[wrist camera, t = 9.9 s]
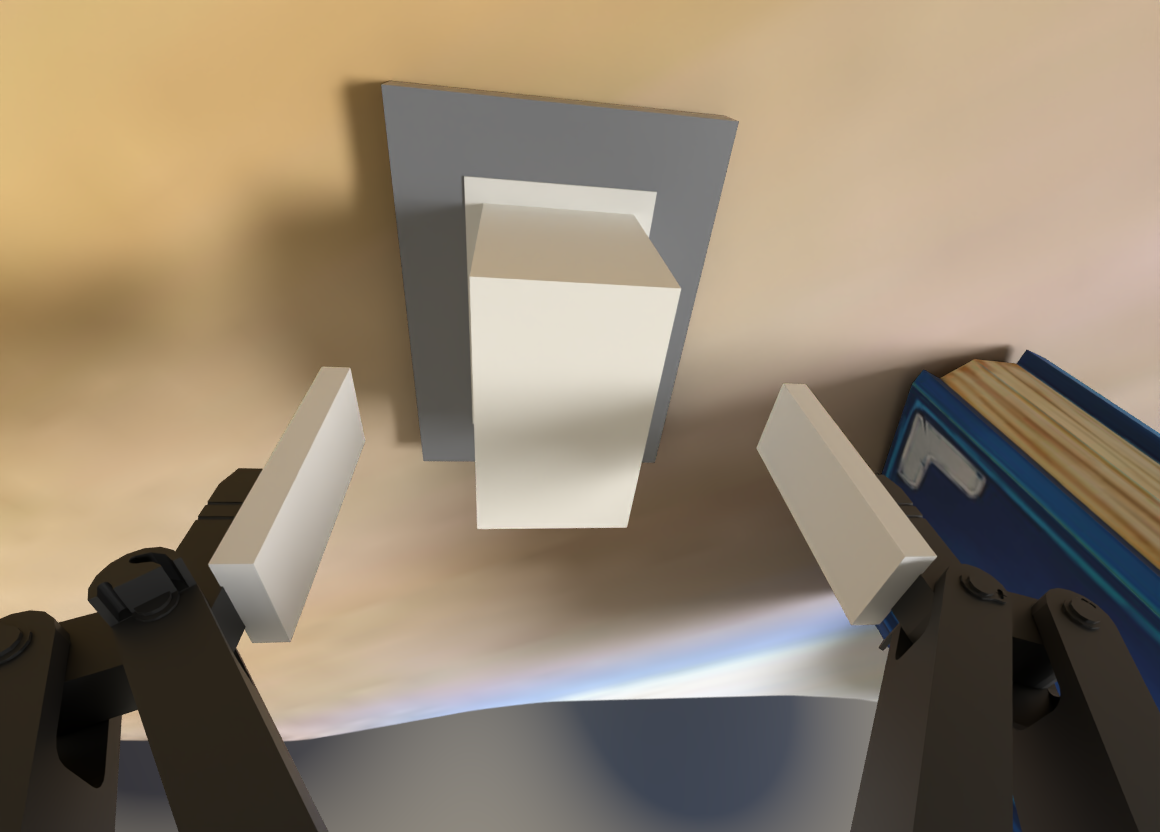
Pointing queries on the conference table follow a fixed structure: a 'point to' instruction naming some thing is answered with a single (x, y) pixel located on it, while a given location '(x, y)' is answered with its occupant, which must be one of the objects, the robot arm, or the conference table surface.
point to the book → (1039, 490)
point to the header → (535, 179)
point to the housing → (564, 363)
